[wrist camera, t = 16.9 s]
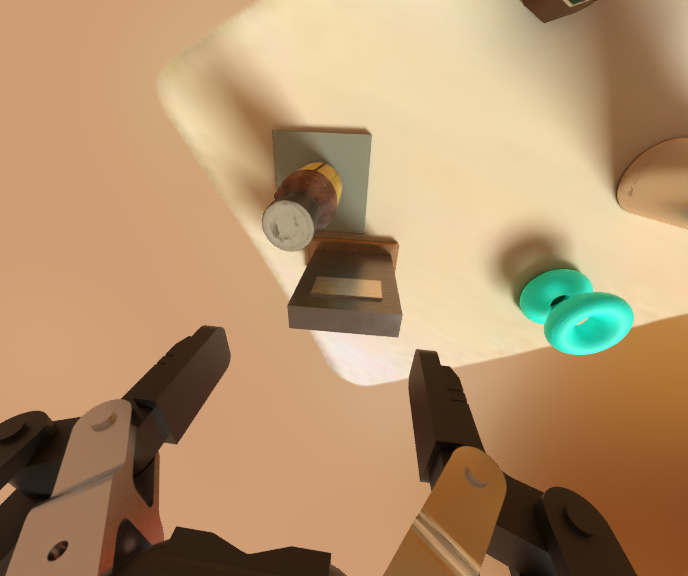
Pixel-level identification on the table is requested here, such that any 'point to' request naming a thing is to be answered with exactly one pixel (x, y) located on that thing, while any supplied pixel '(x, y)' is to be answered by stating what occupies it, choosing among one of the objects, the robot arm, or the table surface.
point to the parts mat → (343, 156)
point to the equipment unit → (348, 288)
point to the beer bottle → (555, 8)
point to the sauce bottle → (302, 206)
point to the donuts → (575, 312)
